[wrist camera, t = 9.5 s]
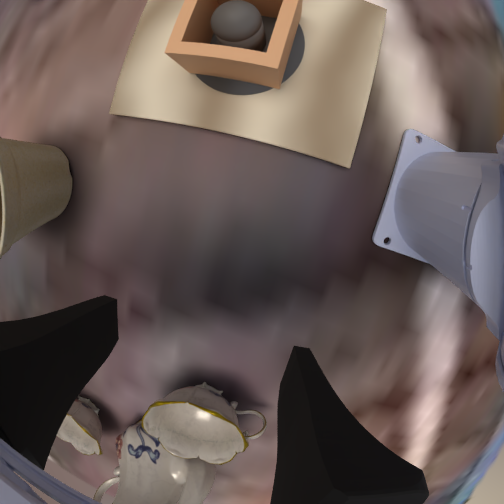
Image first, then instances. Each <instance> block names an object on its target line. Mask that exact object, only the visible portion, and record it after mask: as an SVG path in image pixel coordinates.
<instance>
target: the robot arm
mask: <svg viewBox="0 0 504 504" xmlns="http://www.w3.org/2000/svg"><path fill="white" fill-rule="evenodd" d="M416 136H418V137H419V139H420V141H419V143H417V142H416V140H415V137H416ZM496 149H497V152H498V154H496V153H476V152H456V151H454V150H452V149H450V148H449V147H447V146H445V145H443V144H441V143H439V142H438V141H436V140H434V139H432V138H430V137H428V136H426V135H424V134H422V133H420V132H418V131H416V130H414V129H408V130H406V131H405V132H404V134H403V138H402V142H401V146H400V150H399V153H398V157H397V161H396V164H395V168H394V171H393V175H392V178H391V181H390V185H389V188H388V191H387V194H386V198H385V201H384V204H383V207H382V210H381V213H380V216H379V219H378V222H377V224H376V227H375V230H374V233H373V236H372V239H373V242H374V243H375V244H376V245H378V246H380V247H383V248H386V249H389V250H392V251H395V252H398V253H401V254H403V255H406V256H409V257H412V258H415V259H418V260H420V261H423V262H426V263H429V264H431V265H432V266H433V267H435V268H436V269H437V270H438V271H439V272H441V273H442V274H443V275H444V276H445V277H446V278H448V279H449V280H450V281H451V282H452V283H453V284H455V285H456V286H457V287H458V288H459V289H460V290H461V291H462V292H464V293H465V294H466V295H467V296H468V297H469V298H470V299H471V300H472V301H473V302H474V303H476V304H477V305H478V306H479V307H480V308H481V309H482V310H483V312H484V313H485V315H486V319H487V328H488V329H489V330H490V331H491V332H492V333H493V334H494V335H495V336H496V338H497V339H498V340H500V342H499V347H498V351H497V355H496V373H497V377H498V381H499V384H500V386H501V388H502V390H503V392H504V135H503V137H502V140H500V141H498V142H497V145H496ZM386 237H389V241H388V242H387V243H384V239H385V238H386ZM118 339H119V337H118V319H117V299H114V298H111V297H108V296H105V295H104V296H100V297H97V298H93V299H90V300H87V301H84V302H82V303H79V304H76V305H73V306H70V307H67V308H64V309H61V310H58V311H54V312H51V313H48V314H44V315H41V316H37V317H32V318H27V319H22V320H16V321H6V322H0V504H47V503H46V502H45V501H44V500H43V499H42V498H40V497H39V496H38V495H37V494H36V493H35V492H34V491H33V490H32V489H31V487H30V486H29V485H28V484H27V483H26V482H25V481H23V480H22V479H21V478H20V477H19V476H17V475H16V474H15V473H14V472H13V471H15V472H16V473H17V474H18V475H20V476H21V477H22V478H24V479H25V480H26V481H28V482H29V483H30V484H32V485H33V486H35V487H36V488H37V489H39V490H40V491H42V492H44V493H45V494H46V495H48V496H50V497H51V498H53V499H54V500H56V501H57V502H59V503H61V504H101V503H99V502H97V501H95V500H93V499H91V498H89V497H87V496H85V495H83V494H82V493H80V492H78V491H76V490H74V489H72V488H71V487H69V486H67V485H66V484H64V483H62V482H61V481H59V480H57V479H56V478H54V477H52V476H51V475H49V474H48V473H46V472H45V471H43V470H44V468H45V464H46V461H47V458H48V456H49V453H50V450H51V447H52V445H53V442H54V440H55V438H56V435H57V433H58V431H59V429H60V427H61V425H62V423H63V421H64V419H65V417H66V415H67V413H68V411H69V410H70V408H71V406H72V404H73V403H74V401H75V399H76V398H77V396H78V395H79V393H80V392H81V391H82V389H83V388H84V387H85V385H86V384H87V383H88V382H89V380H90V379H91V378H92V377H93V375H94V374H95V373H96V372H97V370H98V369H99V368H100V367H101V365H102V364H103V363H104V362H105V360H106V359H107V358H108V356H109V355H110V353H111V351H112V350H113V348H114V346H115V345H116V343H117V341H118ZM428 496H429V491H428V488H427V484H426V480H425V477H424V474H423V471H422V470H421V469H419V468H417V467H416V466H414V465H412V464H410V463H409V462H407V461H405V460H404V459H402V458H400V457H399V456H398V455H396V454H395V453H393V452H392V451H391V450H389V449H388V448H387V447H385V446H384V445H383V444H382V443H380V442H379V441H378V440H377V439H376V438H375V437H374V436H372V435H371V434H370V433H369V432H368V431H367V430H366V429H365V428H364V427H363V426H362V425H361V424H360V423H359V422H358V421H357V420H356V418H355V417H354V416H353V415H352V414H351V413H350V412H349V410H348V409H347V408H346V407H345V405H344V404H343V403H342V401H341V400H340V399H339V397H338V396H337V394H336V393H335V391H334V390H333V388H332V387H331V385H330V383H329V382H328V380H327V379H326V377H325V375H324V374H323V372H322V370H321V368H320V366H319V365H318V363H317V361H316V359H315V357H314V355H313V354H312V352H311V350H310V349H309V348H304V347H298V346H294V347H293V350H292V353H291V356H290V359H289V361H288V364H287V367H286V370H285V372H284V375H283V378H282V381H281V383H280V390H279V398H278V448H277V464H276V472H275V479H274V485H273V491H272V497H271V503H270V504H423V503H424V502H425V500H426V499H427V498H428Z"/></svg>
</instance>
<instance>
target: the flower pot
mask: <svg viewBox="0 0 504 504" xmlns="http://www.w3.org/2000/svg"><path fill="white" fill-rule="evenodd" d="M71 192H72V176H71V174H70V170H69V161H68V159H67V157H66V156H65V154H64V153H63V152H62V151H61V150H60V149H59V148H57V147H55V146H52V145H44V144H37V143H30V142H24V141H17V140H11V139H4V138H1V137H0V259H1V257H2V255H4V254H5V253H6V252H7V251H8V250H9V249H10V247H11V246H12V244H14V243H15V242H17V241H18V240H20V239H21V238H23V237H24V236H26V235H27V234H29V233H30V232H32V231H33V230H35V229H37V228H38V227H40V226H42V225H43V224H45V223H47V222H48V221H50V220H52V219H54V218H56V217H57V216H59V215H60V214H61V213H62V212H63V211H64V210H65V208H66V206H67V204H68V202H69V199H70V196H71Z"/></svg>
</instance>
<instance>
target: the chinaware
mask: <svg viewBox="0 0 504 504" xmlns="http://www.w3.org/2000/svg"><path fill="white" fill-rule="evenodd" d="M221 393H223V391H218V390H217V389H215V388H213V387H211V386H209V385H207V384H206V382H204V383H203V384H201V385H196V386H194V387H190V386H188V387H184V388H180V389H177V390H175V391H173V392H171V393H170V394H168V395H167V396H166V397H164V398H163V399H159V400H156V401H155V402H154V403H153V404H151V405H150V407H149V408H148V410H147V411H146V413H145V414H144V416H143V418H142V419H141V420H139V421H138V422H137V423H136V424H134V425H131V426H129V427H128V428H127V429H126V431H125V432H123V433H122V434H120V435H119V436H118V437H117V438H116V450H117V455H118V460H119V466H118V467H116V468H115V469H114V474H115V475H117V476H118V477H114V478H111V479H109V480H107V481H105V482H104V483H103V484H102V485H101V486H100V487H99V488H98V490H97V491H96V493H95V496H94V500H95V501H97V502H99V503H100V501H101V498H102V496H103V494H104V493H105V491H106V490H107V489H108V488H109V487H110V486H112V485H113V484H115V483H117V482H119V486H118V490H117V494H116V496H115V499H114V501H113V503H112V504H177V502H178V501H179V502H178V504H202V503H203V501H204V500H205V499H206V497H207V496H208V494H209V492H210V490H211V488H212V486H213V483H214V480H215V475H216V466H215V464H219V465H222V464H224V463H227V462H229V461H231V460H232V459H233V458H234V457H235V455H236V454H237V453H240V452H244V451H245V449H246V448H247V447H248V445H249V443H248V440H247V439H255V438H258V437H260V436H261V435H262V434H263V433H264V431H265V429H266V426H267V422H266V419H265V417H264V416H263V415H262V414H261V413H260V412H258V411H255V410H245V411H237V410H235V409H236V408H237V405H238V403H237V402H235V401H233V402H231V403H229V402H228V401H227V400H226V399H225V398H224V397H222V396H221ZM78 397H79V400H78V399H75V401H74V403H73V404H72V406H71V408H70V410H69V411H68V413H67V415H66V417H65V419H64V421H63V423H62V425H61V427H60V429H59V431H58V433H57V435H56V436H57V437H59V438H60V439H62V440H64V441H67V442H69V443H70V442H72V445H73V446H74V447H75V448H76V449H77V450H78V451H79V452H81V453H82V454H84V455H92V454H95V453H96V454H98V455H101V454H103V450H102V449H101V446H100V441H101V437H102V426H101V422H100V419H99V417H98V410H100V409H98V408H97V407H96V406H95V405H94V404H93V403H92V402H91V401H90V399H86V398H82V397H80V396H79V395H78ZM236 414H255V415H257V416H259V417H260V418H261V419H262V420H263V428H262V429H261V431H260V432H258V433H257V434H255V435H251V436H248V435H249V432H248V430H246V431H245V432H243V433H242V432H241V430H240V429H239V424H238V419H237V415H236ZM244 434H245V436H244Z"/></svg>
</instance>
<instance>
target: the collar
mask: <svg viewBox="0 0 504 504" xmlns="http://www.w3.org/2000/svg"><path fill="white" fill-rule="evenodd" d="M228 1H232V0H185V1H184V3H183V5H182V8H181V10H180V13H179V15H178V17H177V20H176V23H175V25H174V28H173V30H172V33H171V36H170V38H169V41H168V44H167V47H166V49H165V52H164V53H165V54H167V55H168V56H169V57H170V58H172V59H173V60H174V61H175V62H177V63H178V64H179V65H180V66H182V67H183V68H184V69H185V70H186V71H188V72H189V73H194V74H202V75H209V76H216V77H222V78H228V79H234V80H239V81H244V82H249V83H254V84H259V85H263V86H268V87H272V88H276V89H280V86H281V83H282V79H283V76H284V72H285V69H286V65H287V62H288V58H289V55H290V51H291V48H292V45H293V41H294V38H295V34H296V31H297V28H298V24H299V21H300V18H301V13H302V2H303V0H242V1H246V2H249V3H251V4H252V5H254V6H255V7H256V8H257V9H258V10H259V12H260V14H261V16H267V17H272V18H277V21H276V24H275V27H274V30H273V33H272V36H271V39H270V42H269V46H268V49H267V52H266V53H265V52H260V51H255V50H249V49H243V48H237V47H230V46H223V45H215V44H210V42H211V39H212V36H213V33H214V32H213V30H212V28H211V17H212V14H213V12H214V11H215V10H216V8H217V7H219V6H220V5H221V4H223V3H225V2H228Z"/></svg>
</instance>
